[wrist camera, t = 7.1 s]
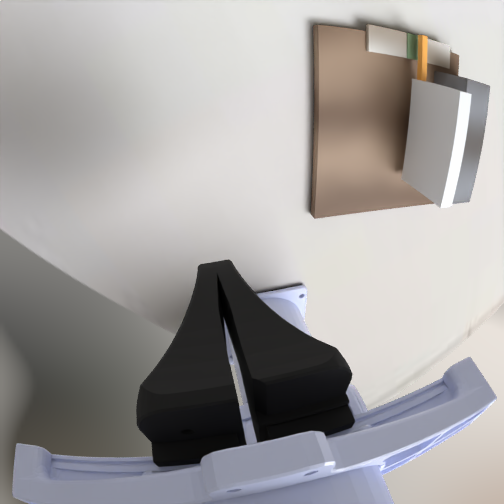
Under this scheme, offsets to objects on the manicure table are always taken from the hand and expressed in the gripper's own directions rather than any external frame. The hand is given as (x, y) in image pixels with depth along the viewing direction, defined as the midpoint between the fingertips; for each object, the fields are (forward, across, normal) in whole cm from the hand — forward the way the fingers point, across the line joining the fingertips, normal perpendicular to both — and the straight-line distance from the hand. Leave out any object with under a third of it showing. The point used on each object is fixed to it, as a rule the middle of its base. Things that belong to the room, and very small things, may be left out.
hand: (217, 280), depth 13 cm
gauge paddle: (+8, -16, -6) cm, 18 cm away
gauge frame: (+9, -14, -4) cm, 17 cm away
